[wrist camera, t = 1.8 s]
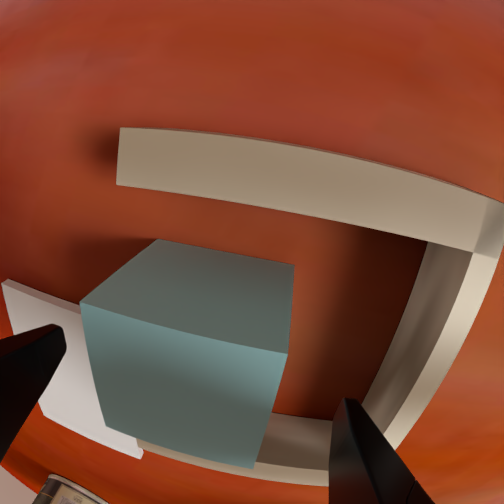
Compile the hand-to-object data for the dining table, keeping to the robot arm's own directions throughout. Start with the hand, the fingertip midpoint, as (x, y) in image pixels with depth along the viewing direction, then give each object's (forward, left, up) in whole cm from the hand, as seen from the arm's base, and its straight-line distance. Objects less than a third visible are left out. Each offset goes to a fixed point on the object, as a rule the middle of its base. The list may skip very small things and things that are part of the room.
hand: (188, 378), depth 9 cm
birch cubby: (0, -3, -4) cm, 5 cm away
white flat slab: (-7, +8, -4) cm, 11 cm away
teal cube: (0, 0, -4) cm, 4 cm away
